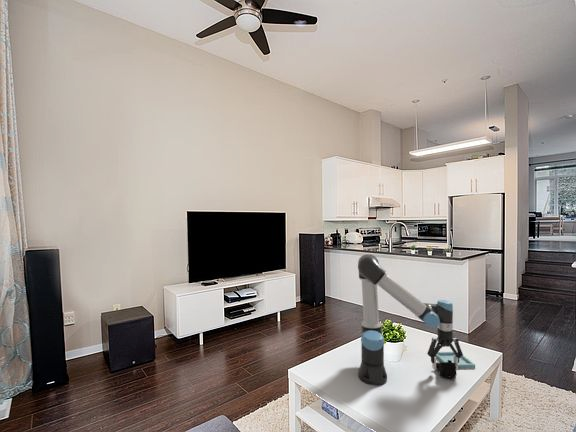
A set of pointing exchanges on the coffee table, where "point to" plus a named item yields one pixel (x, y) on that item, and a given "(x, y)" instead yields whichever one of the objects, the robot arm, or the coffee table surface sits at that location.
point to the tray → (447, 356)
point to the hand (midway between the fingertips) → (445, 368)
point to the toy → (446, 369)
